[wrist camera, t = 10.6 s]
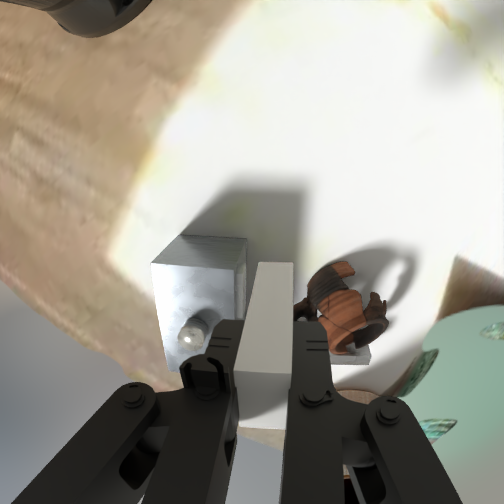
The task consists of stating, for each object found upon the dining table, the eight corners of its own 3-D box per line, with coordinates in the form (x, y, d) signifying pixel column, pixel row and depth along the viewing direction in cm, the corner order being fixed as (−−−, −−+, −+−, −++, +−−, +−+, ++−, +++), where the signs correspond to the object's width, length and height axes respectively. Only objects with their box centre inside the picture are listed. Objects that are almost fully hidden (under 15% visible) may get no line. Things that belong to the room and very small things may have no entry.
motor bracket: (178, 234, 35) (141, 272, 26) (386, 248, 33) (415, 291, 23) (187, 331, 41) (163, 382, 31) (363, 345, 38) (376, 400, 29)
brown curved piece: (369, 246, 33) (403, 303, 28) (360, 292, 40) (386, 342, 35) (269, 278, 33) (292, 344, 27) (278, 320, 40) (296, 375, 34)
